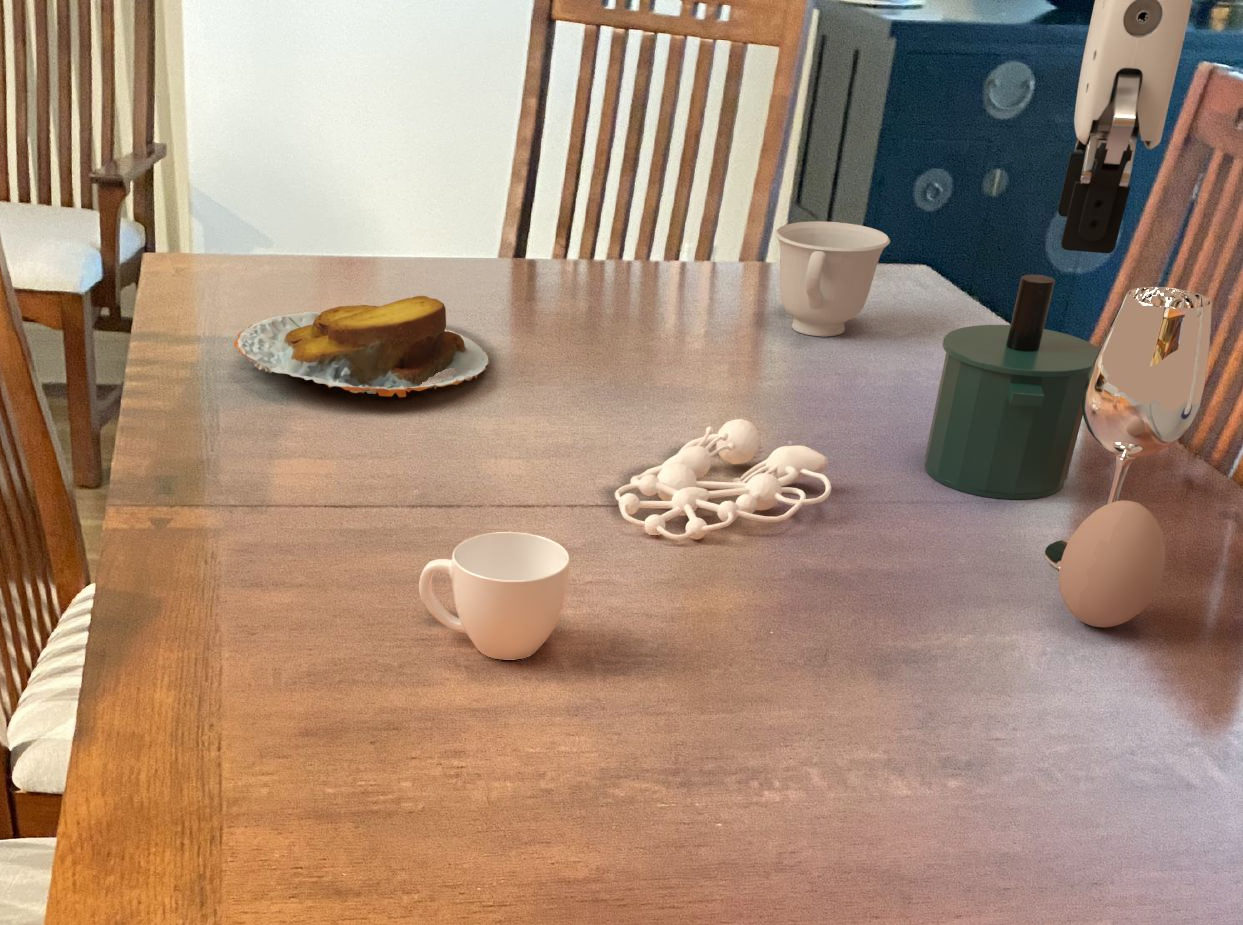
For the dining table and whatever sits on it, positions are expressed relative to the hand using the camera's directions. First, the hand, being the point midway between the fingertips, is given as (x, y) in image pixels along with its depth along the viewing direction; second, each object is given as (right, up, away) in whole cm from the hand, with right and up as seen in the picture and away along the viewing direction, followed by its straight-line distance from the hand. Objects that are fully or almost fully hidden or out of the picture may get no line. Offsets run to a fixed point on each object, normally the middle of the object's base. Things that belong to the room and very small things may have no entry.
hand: (1083, 233), depth 99 cm
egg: (+4, -25, +7) cm, 26 cm away
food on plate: (-50, +5, +51) cm, 72 cm away
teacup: (-2, +13, +65) cm, 66 cm away
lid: (+6, 0, +25) cm, 26 cm away
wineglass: (+8, -19, +16) cm, 26 cm away
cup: (-39, -27, +3) cm, 48 cm away
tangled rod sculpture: (-19, -13, +24) cm, 34 cm away
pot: (+5, -9, +31) cm, 33 cm away
